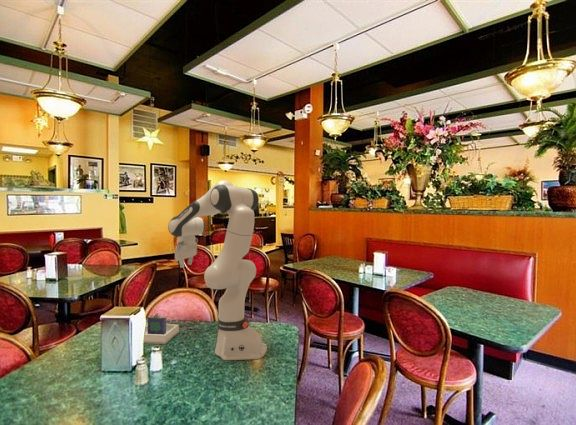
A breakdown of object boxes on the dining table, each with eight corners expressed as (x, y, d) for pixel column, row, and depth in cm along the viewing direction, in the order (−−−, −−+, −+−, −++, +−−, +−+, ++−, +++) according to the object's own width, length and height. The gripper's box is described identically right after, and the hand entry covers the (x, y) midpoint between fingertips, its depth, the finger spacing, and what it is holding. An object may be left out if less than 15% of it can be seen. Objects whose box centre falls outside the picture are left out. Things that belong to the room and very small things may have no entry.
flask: (167, 334, 153) (167, 312, 153) (164, 337, 150) (164, 314, 150) (149, 333, 154) (149, 311, 154) (145, 336, 151) (145, 313, 151)
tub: (178, 332, 158) (178, 324, 158) (165, 344, 144) (165, 335, 144) (148, 331, 160) (148, 323, 160) (132, 342, 146) (132, 334, 146)
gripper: (183, 242, 160) (183, 269, 160) (199, 239, 181) (199, 263, 181) (171, 242, 161) (171, 269, 161) (188, 238, 181) (188, 262, 181)
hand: (186, 266), depth 171 cm, fingers open, 8 cm apart
